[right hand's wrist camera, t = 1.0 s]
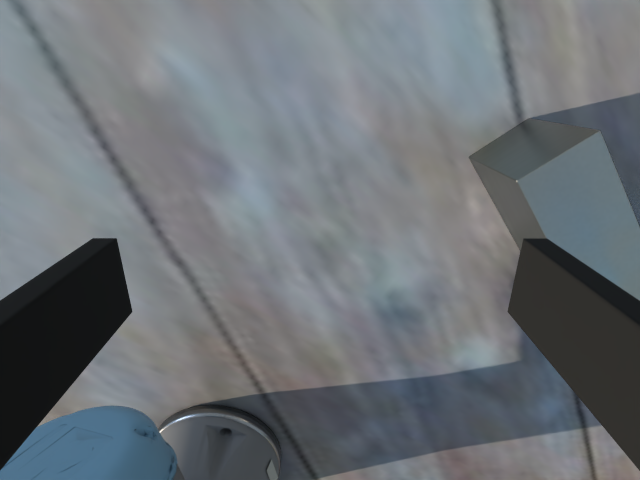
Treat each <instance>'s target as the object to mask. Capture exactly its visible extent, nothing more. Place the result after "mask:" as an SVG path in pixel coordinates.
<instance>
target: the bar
mask: <svg viewBox="0 0 640 480" xmlns="http://www.w3.org/2000/svg"><path fill="white" fill-rule="evenodd" d="M469 159H470V161H471V162H472V164H473V166H474V168H475V170H476V172H477V173H478V175H479V177H480V179H481V181H482V182H483V184H484V186H485V188H486V190H487V191H488V193H489V195H490V197H491V199H492V201H493V202H494V204H495V206H496V208H497V210H498V211H499V213H500V215H501V217H502V219H503V220H504V222H505V224H506V226H507V228H508V230H509V231H510V233H511V235H512V237H513V239H514V240H515V242H516V244H517V246H518V248H519V249H520V251H521V247H522V243H523V238H547V239H549V240H550V241H552V242H553V243H555V244H556V245H558V246H559V247H561V248H562V249H564V250H565V251H567V252H568V253H570V254H571V255H572V256H574V257H575V258H577V259H578V260H580V261H581V262H583V263H584V264H586V265H587V266H589V267H590V268H592V269H593V270H595V271H596V272H598V273H599V274H601V275H602V276H604V277H605V278H607V279H608V280H610V281H611V282H613V283H614V284H616V285H617V286H619V287H620V288H622V289H623V290H625V291H626V292H628V293H629V294H631V295H632V296H634V297H635V298H637V299H638V300H639V301H640V225H639V223H638V221H637V218H636V216H635V213H634V211H633V208H632V206H631V204H630V201H629V199H628V196H627V194H626V191H625V189H624V187H623V184H622V182H621V179H620V177H619V174H618V172H617V170H616V167H615V165H614V162H613V160H612V157H611V155H610V152H609V150H608V148H607V145H606V143H605V140H604V138H603V135H602V133H601V131H600V130H596V129H590V128H584V127H578V126H572V125H566V124H560V123H554V122H548V121H542V120H536V119H531V118H529V119H527V120H526V121H524V122H522V123H521V124H519V125H518V126H516V127H515V128H513V129H511V130H510V131H508V132H507V133H505V134H504V135H502V136H501V137H499V138H497V139H496V140H494V141H493V142H491V143H490V144H488V145H487V146H485V147H483V148H482V149H480V150H479V151H477V152H476V153H474V154H472V155H471V156H469Z"/></svg>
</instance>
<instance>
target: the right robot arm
mask: <svg viewBox="0 0 640 480" xmlns="http://www.w3.org/2000/svg"><path fill="white" fill-rule="evenodd" d="M131 313H132V308H131V303H130V299H129V294H128V289H127V285H126V280H125V275H124V271H123V266H122V261H121V257H120V252H119V247H118V243H117V238H93V239H91V240H90V241H88V242H87V243H85V244H84V245H82V246H81V247H79V248H78V249H76V250H75V251H73V252H72V253H70V254H69V255H68V256H66V257H65V258H63V259H62V260H60V261H59V262H57V263H56V264H54V265H53V266H51V267H50V268H48V269H47V270H45V271H44V272H42V273H41V274H39V275H38V276H36V277H35V278H33V279H32V280H30V281H29V282H27V283H26V284H24V285H23V286H21V287H20V288H18V289H17V290H15V291H14V292H12V293H11V294H9V295H8V296H6V297H5V298H3V299H2V300H1V301H0V470H1V469H2V468H3V467H4V466H5V464H6V463H7V462H8V461H9V459H10V458H11V457H12V456H13V455H14V453H15V452H16V451H17V450H18V449H19V447H20V446H21V445H22V444H23V443H24V441H25V440H26V439H27V438H28V437H29V435H30V434H31V433H32V432H33V431H34V429H35V428H36V427H37V426H38V425H39V423H40V422H41V421H42V420H43V419H44V417H45V416H46V415H47V414H48V413H49V411H50V410H51V409H52V408H53V407H54V405H55V404H56V403H57V402H58V401H59V399H60V398H61V397H62V396H63V395H64V393H65V392H66V391H67V390H68V388H69V387H70V386H71V385H72V384H73V382H74V381H75V380H76V379H77V378H78V376H79V375H80V374H81V373H82V372H83V370H84V369H85V368H86V367H87V366H88V364H89V363H90V362H91V361H92V360H93V358H94V357H95V356H96V355H97V354H98V352H99V351H100V350H101V349H102V348H103V346H104V345H105V344H106V343H107V342H108V340H109V339H110V338H111V337H112V336H113V334H114V333H115V332H116V331H117V330H118V328H119V327H120V326H121V325H122V324H123V322H124V321H125V320H126V319H127V318H128V316H129V315H130V314H131ZM508 313H509V314H510V315H511V316H512V318H513V319H514V320H515V321H516V322H517V324H518V325H519V326H520V327H521V328H522V330H523V331H524V332H525V333H526V334H527V336H528V337H529V338H530V339H531V340H532V342H533V343H534V344H535V345H536V346H537V348H538V349H539V350H540V351H541V352H542V354H543V355H544V356H545V357H546V358H547V360H548V361H549V362H550V363H551V364H552V366H553V367H554V368H555V369H556V370H557V372H558V373H559V374H560V375H561V376H562V378H563V379H564V380H565V381H566V382H567V384H568V385H569V386H570V387H571V388H572V390H573V391H574V392H575V393H576V395H577V396H578V397H579V398H580V399H581V401H582V402H583V403H584V404H585V405H586V407H587V408H588V409H589V410H590V411H591V413H592V414H593V415H594V416H595V417H596V419H597V420H598V421H599V422H600V423H601V425H602V426H603V427H604V428H605V429H606V431H607V432H608V433H609V434H610V435H611V437H612V438H613V439H614V440H615V441H616V443H617V444H618V445H619V446H620V447H621V449H622V450H623V451H624V452H625V453H626V455H627V456H628V457H629V458H630V459H631V461H632V462H633V463H634V464H635V466H636V467H637V468H638V469H639V470H640V301H639V300H638V299H637V298H635V297H634V296H632V295H631V294H629V293H628V292H626V291H625V290H623V289H622V288H620V287H619V286H617V285H616V284H614V283H613V282H611V281H610V280H608V279H607V278H605V277H604V276H602V275H601V274H599V273H598V272H596V271H595V270H593V269H592V268H590V267H589V266H587V265H586V264H584V263H583V262H581V261H580V260H578V259H577V258H575V257H574V256H572V255H571V254H570V253H568V252H567V251H565V250H564V249H562V248H561V247H559V246H558V245H556V244H555V243H553V242H552V241H550V240H549V239H547V238H523V243H522V247H521V252H520V257H519V261H518V266H517V271H516V275H515V280H514V285H513V289H512V294H511V299H510V303H509V308H508Z"/></svg>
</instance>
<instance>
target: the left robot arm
mask: <svg viewBox="0 0 640 480" xmlns="http://www.w3.org/2000/svg"><path fill="white" fill-rule="evenodd" d="M280 463H281V449H280V445H279V442H278V440H277V438H276V437H275V435H274V433H273V432H272V431H271V430H270V429H269V428H268V427H267V426H266V425H265V424H264V423H263V422H262V421H260V420H259V419H257V418H256V417H254V416H252V415H250V414H248V413H246V412H243V411H241V410H238V409H234V408H230V407H225V406H216V405H205V406H197V407H192V408H188V409H185V410H182V411H180V412H177V413H175V414H174V415H172V416H171V417H169V418H168V419H167V420H165V421H164V422H163V423H162V425H161V426H160V427H159V429H157V427H156V425H155V424H154V422H153V421H152V420H151V419H150V418H149V417H148V416H147V415H145V414H144V413H142V412H140V411H138V410H136V409H133V408H129V407H123V406H102V407H94V408H89V409H85V410H81V411H78V412H75V413H72V414H70V415H65V416H62V417H59V418H56V419H54V420H52V421H49V422H47V423H45V424H43V425H41V426H38V427H36V428H35V429H34V431H33V432H32V433H31V434H30V435H29V437H28V438H27V439H26V440H25V441H24V443H23V444H22V445H21V446H20V447H19V449H18V450H17V451H16V452H15V453H14V455H13V456H12V457H11V458H10V459H9V461H8V462H7V463H6V464H5V466H4V467H3V468H2V469H1V470H0V480H277V479H278V476H279V472H280Z"/></svg>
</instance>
